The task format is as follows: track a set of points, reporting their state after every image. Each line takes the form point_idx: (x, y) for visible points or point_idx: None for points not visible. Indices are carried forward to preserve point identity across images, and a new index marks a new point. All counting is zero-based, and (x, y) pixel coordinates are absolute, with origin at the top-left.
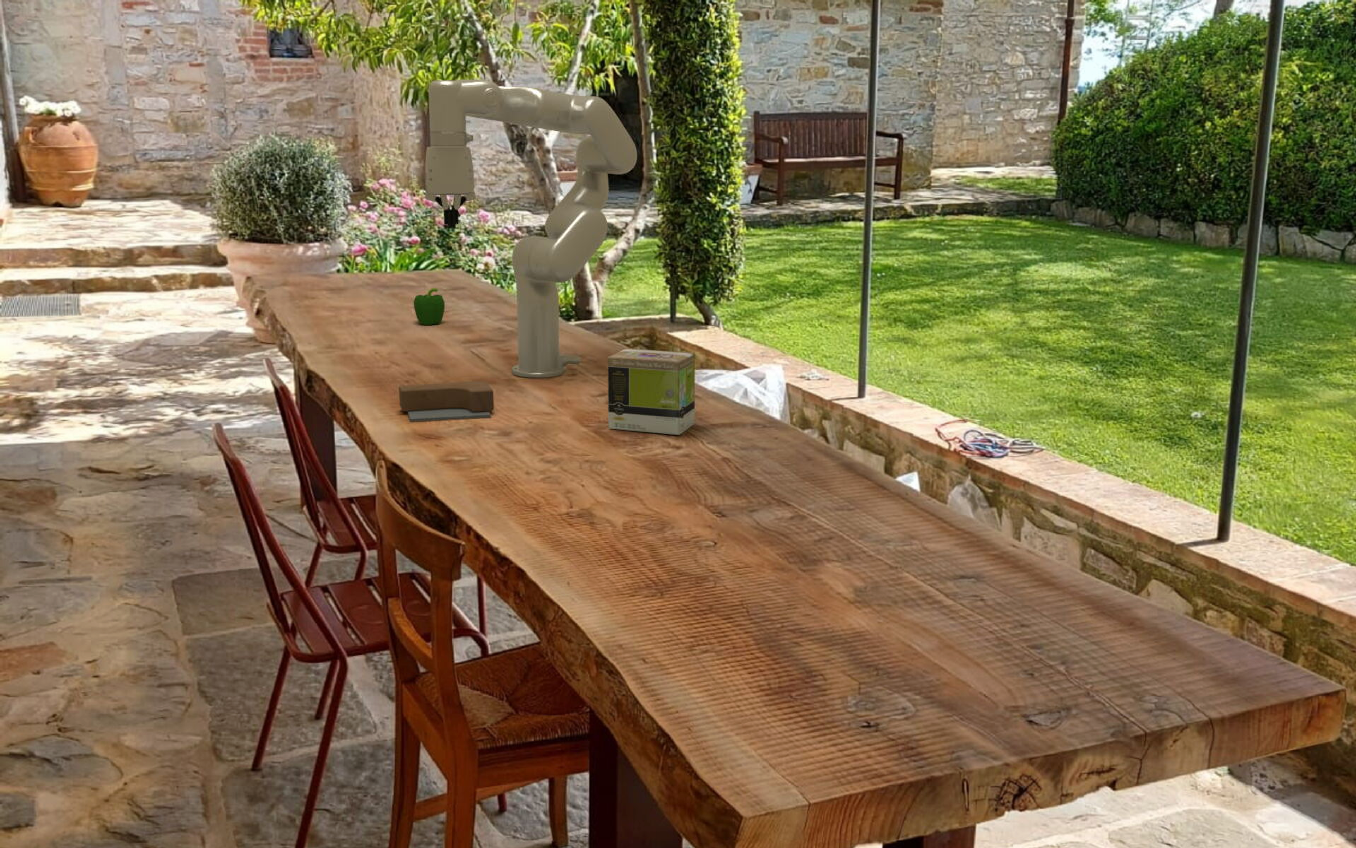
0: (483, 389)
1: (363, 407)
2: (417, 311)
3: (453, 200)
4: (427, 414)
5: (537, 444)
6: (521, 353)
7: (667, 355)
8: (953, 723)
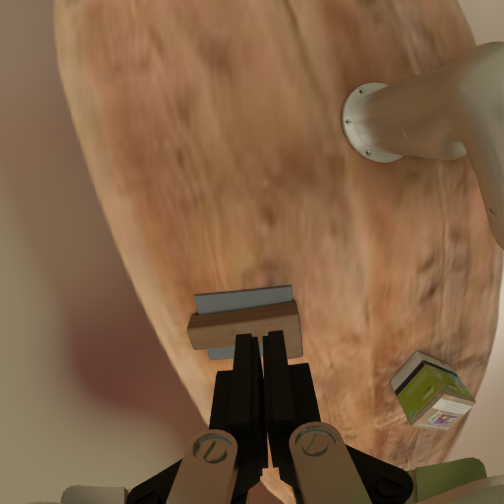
0: (292, 355)
1: (148, 297)
2: None
3: (300, 483)
4: (226, 347)
5: (323, 414)
6: (367, 134)
7: (452, 418)
8: None
